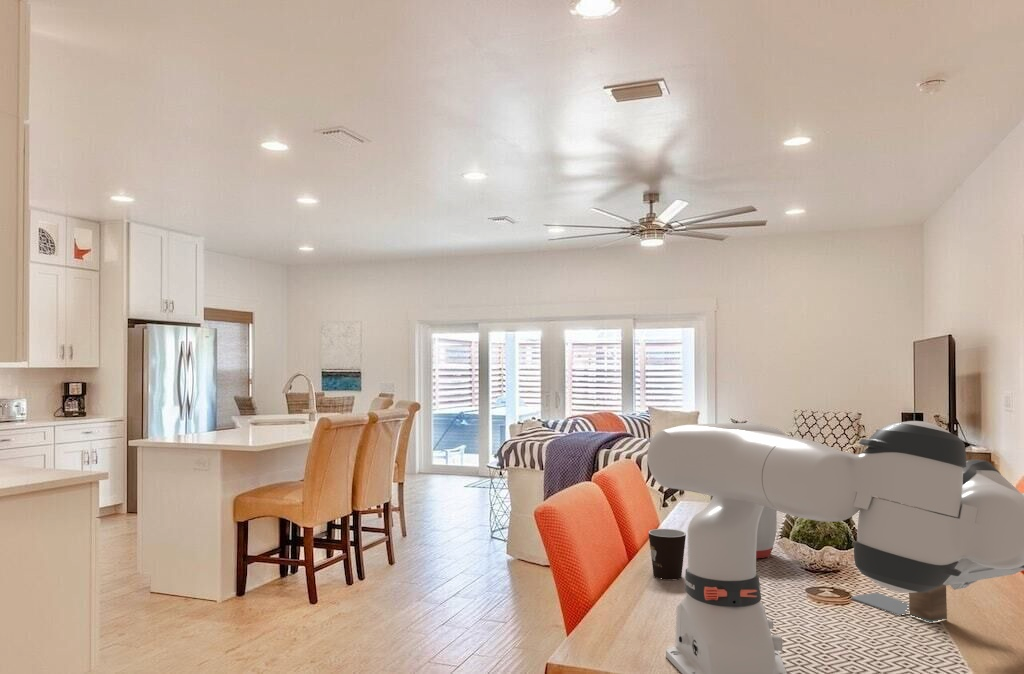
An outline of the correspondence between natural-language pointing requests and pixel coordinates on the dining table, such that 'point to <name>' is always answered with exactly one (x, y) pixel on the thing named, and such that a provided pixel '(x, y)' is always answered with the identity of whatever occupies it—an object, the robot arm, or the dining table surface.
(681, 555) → the coffee mug
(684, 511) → the dining table surface
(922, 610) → the walnut block
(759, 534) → the citrus juicer
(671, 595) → the dining table surface
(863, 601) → the slate mat
